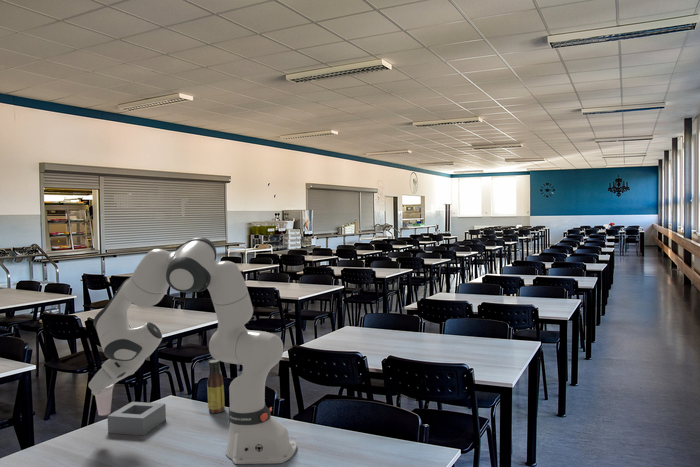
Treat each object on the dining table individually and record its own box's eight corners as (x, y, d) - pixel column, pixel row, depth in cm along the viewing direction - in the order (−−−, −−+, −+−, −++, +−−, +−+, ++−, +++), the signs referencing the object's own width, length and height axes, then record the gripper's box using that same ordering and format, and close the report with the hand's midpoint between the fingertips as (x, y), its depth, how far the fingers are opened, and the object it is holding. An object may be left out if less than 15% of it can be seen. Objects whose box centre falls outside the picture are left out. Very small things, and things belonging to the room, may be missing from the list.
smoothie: (106, 417, 169) (104, 376, 169) (89, 416, 171) (87, 375, 170) (118, 410, 176) (117, 370, 175) (102, 409, 177) (101, 369, 176)
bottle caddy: (165, 419, 190) (165, 403, 190) (143, 435, 177) (143, 418, 176) (132, 417, 193) (132, 401, 193) (108, 432, 179) (107, 415, 179)
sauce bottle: (217, 406, 202) (216, 357, 202) (228, 409, 199) (226, 359, 198) (204, 411, 197) (202, 361, 197) (214, 415, 194) (213, 363, 193)
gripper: (138, 346, 181) (115, 373, 183) (100, 364, 161) (74, 392, 163) (150, 359, 181) (127, 385, 183) (113, 378, 160) (87, 407, 163)
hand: (101, 389), depth 173 cm, fingers closed on smoothie, 6 cm apart
